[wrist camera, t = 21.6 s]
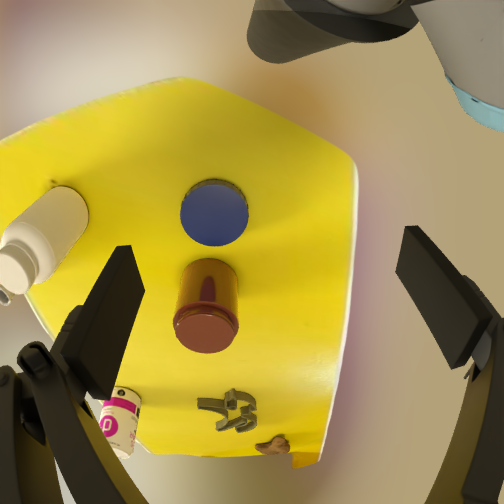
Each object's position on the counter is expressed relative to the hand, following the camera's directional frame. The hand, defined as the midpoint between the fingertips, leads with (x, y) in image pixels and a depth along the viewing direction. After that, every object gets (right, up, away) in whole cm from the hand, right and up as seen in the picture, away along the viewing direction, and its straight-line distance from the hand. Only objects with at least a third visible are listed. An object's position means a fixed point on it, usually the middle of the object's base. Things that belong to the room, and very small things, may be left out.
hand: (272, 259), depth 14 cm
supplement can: (-30, -32, +45) cm, 63 cm away
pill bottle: (-27, +6, +23) cm, 35 cm away
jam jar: (-7, -4, +30) cm, 31 cm away
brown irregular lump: (+5, -53, +61) cm, 81 cm away
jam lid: (-5, +5, +23) cm, 24 cm away
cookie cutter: (-5, -35, +49) cm, 61 cm away
